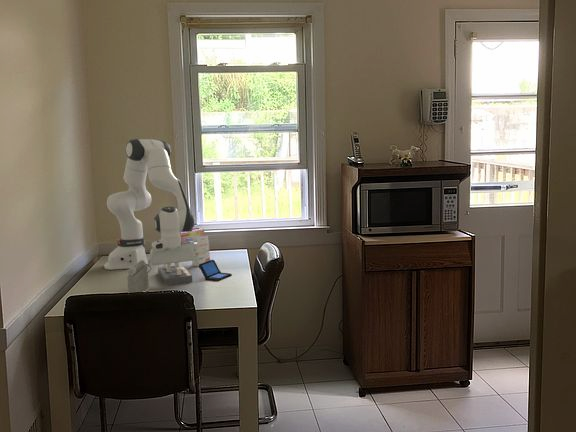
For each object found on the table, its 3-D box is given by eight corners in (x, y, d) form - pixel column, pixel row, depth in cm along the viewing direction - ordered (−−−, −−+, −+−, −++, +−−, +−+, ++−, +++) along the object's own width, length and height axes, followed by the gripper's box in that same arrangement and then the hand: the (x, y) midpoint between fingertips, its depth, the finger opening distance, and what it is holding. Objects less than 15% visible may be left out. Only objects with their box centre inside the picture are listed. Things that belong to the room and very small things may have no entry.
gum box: (200, 250, 343) (198, 227, 341) (208, 252, 338) (207, 228, 336) (164, 257, 327) (162, 233, 325) (172, 259, 321) (171, 235, 319)
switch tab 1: (164, 268, 286) (164, 262, 286) (163, 267, 289) (163, 261, 289) (168, 268, 287) (168, 262, 286) (167, 267, 290) (167, 261, 289)
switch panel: (166, 285, 269) (165, 278, 268) (158, 273, 291) (157, 267, 290) (192, 281, 273) (191, 275, 272) (182, 270, 295) (182, 264, 295)
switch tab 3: (177, 275, 272) (176, 269, 272) (176, 273, 275) (175, 267, 275) (181, 274, 273) (181, 268, 273) (180, 273, 276) (179, 267, 275)
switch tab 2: (167, 272, 279) (166, 266, 278) (166, 271, 282) (165, 264, 281) (171, 271, 279) (171, 265, 279) (170, 270, 282) (170, 264, 282)
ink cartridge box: (203, 262, 313) (202, 234, 311) (210, 263, 310) (208, 235, 308) (191, 265, 306) (190, 237, 304) (198, 266, 303) (196, 238, 301)
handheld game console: (218, 282, 272) (217, 266, 271) (198, 280, 277) (197, 264, 276) (232, 275, 283) (232, 260, 282) (214, 274, 288) (213, 258, 286)
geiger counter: (137, 258, 261) (119, 272, 237) (151, 258, 261) (135, 271, 237) (140, 289, 264) (122, 306, 239) (154, 288, 263) (138, 305, 239)
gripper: (192, 239, 277) (194, 268, 279) (147, 243, 271) (150, 273, 273) (195, 241, 271) (196, 271, 274) (149, 246, 265) (151, 276, 267)
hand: (173, 272), depth 273 cm, fingers closed
